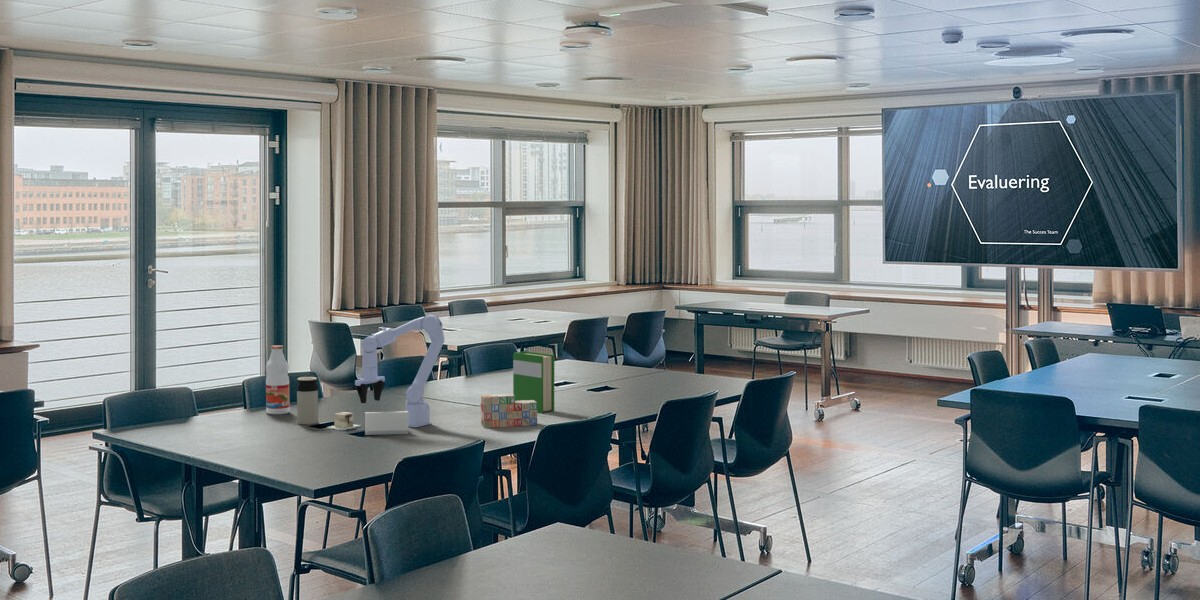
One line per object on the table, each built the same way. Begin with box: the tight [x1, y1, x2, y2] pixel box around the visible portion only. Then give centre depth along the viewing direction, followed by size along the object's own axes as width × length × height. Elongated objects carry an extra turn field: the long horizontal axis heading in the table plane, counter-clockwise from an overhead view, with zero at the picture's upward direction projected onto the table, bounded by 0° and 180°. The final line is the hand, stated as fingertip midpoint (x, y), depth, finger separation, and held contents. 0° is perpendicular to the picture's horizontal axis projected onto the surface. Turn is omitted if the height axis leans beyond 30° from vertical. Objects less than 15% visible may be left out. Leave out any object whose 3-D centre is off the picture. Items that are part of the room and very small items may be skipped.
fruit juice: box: [265, 344, 291, 415], centre depth 474 cm, size 9×9×28 cm
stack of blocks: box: [480, 393, 538, 429], centre depth 449 cm, size 21×6×12 cm, turn 106°
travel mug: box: [296, 376, 319, 426], centre depth 451 cm, size 8×8×18 cm
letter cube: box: [333, 411, 354, 428], centre depth 442 cm, size 5×5×5 cm
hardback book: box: [512, 350, 555, 414], centre depth 484 cm, size 18×7×24 cm, turn 46°
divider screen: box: [364, 410, 409, 436], centre depth 431 cm, size 16×5×8 cm, turn 100°
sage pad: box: [326, 423, 362, 432], centre depth 442 cm, size 10×8×1 cm
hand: (370, 401), depth 446 cm, fingers open, 7 cm apart
